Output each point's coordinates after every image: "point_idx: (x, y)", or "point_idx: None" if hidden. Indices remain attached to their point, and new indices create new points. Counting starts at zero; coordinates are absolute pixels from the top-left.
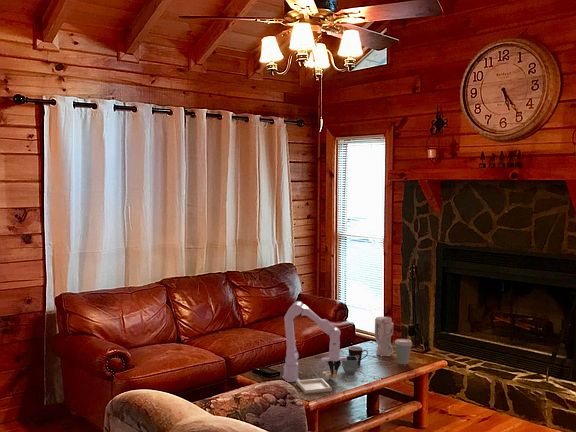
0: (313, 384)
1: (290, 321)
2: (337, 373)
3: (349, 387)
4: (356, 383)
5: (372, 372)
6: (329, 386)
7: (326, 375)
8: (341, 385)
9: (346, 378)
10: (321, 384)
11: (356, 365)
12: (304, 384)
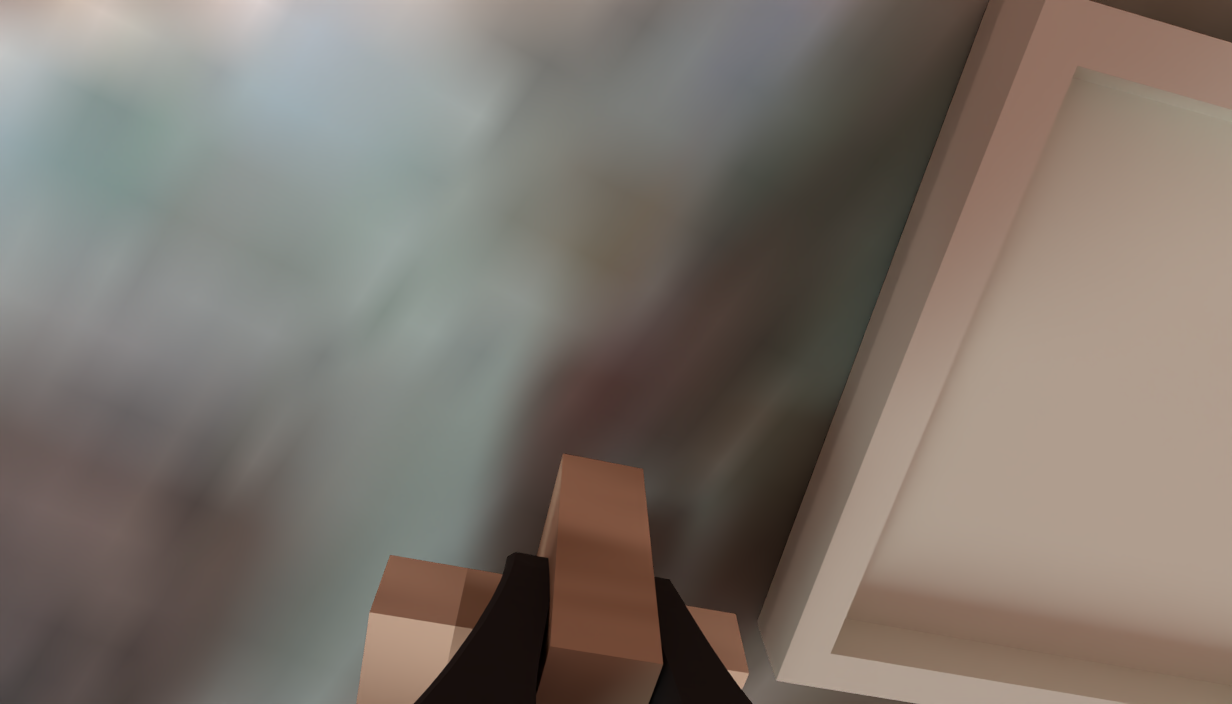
0: (1076, 538)
1: None
2: (389, 648)
3: (358, 16)
4: (6, 187)
5: None
6: (1031, 124)
7: None
8: (485, 252)
9: (119, 572)
10: (929, 467)
11: None
12: (1224, 611)
